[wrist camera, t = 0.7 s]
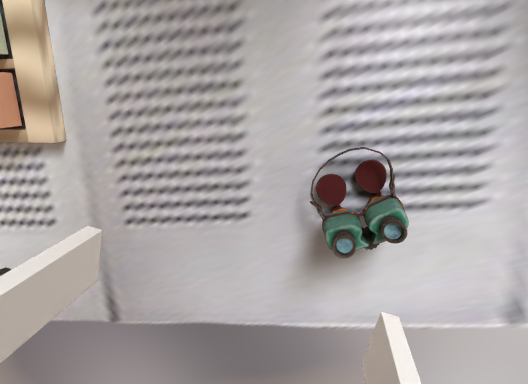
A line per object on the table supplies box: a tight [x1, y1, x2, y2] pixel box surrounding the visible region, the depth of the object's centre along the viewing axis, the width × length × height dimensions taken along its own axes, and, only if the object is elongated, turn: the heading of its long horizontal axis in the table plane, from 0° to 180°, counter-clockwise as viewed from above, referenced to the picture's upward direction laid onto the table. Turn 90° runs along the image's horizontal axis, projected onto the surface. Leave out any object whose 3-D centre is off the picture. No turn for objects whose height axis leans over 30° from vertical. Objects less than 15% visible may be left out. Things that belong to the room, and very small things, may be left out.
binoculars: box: [310, 147, 408, 258], centre depth 36 cm, size 9×11×10 cm
